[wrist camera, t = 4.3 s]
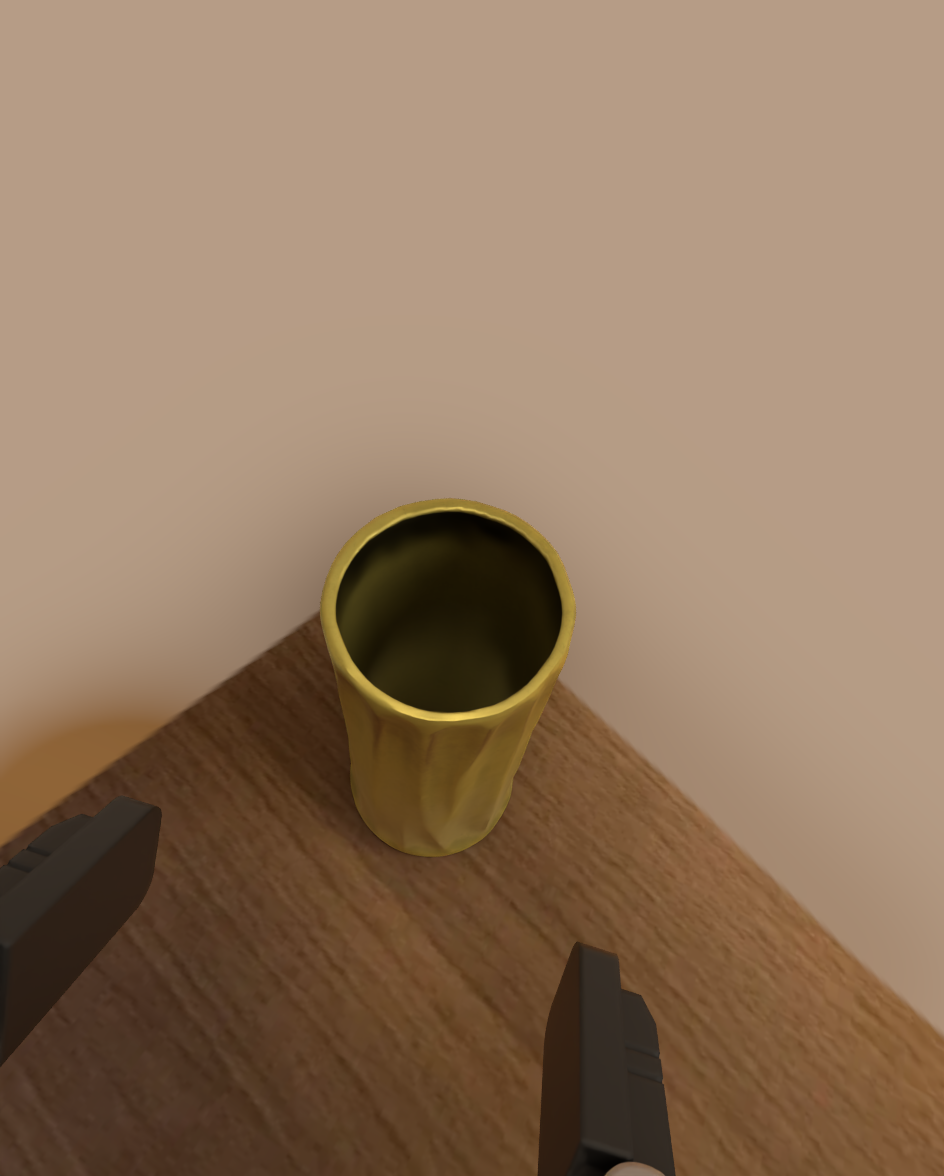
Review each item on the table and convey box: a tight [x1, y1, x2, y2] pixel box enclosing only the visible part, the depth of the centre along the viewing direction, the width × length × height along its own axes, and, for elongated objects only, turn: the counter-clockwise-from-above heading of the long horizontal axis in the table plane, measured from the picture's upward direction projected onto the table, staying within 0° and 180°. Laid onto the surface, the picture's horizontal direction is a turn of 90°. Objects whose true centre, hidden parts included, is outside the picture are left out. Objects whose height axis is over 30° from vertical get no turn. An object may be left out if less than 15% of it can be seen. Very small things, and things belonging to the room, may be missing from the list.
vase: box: [320, 498, 576, 857], centre depth 21 cm, size 6×6×14 cm
